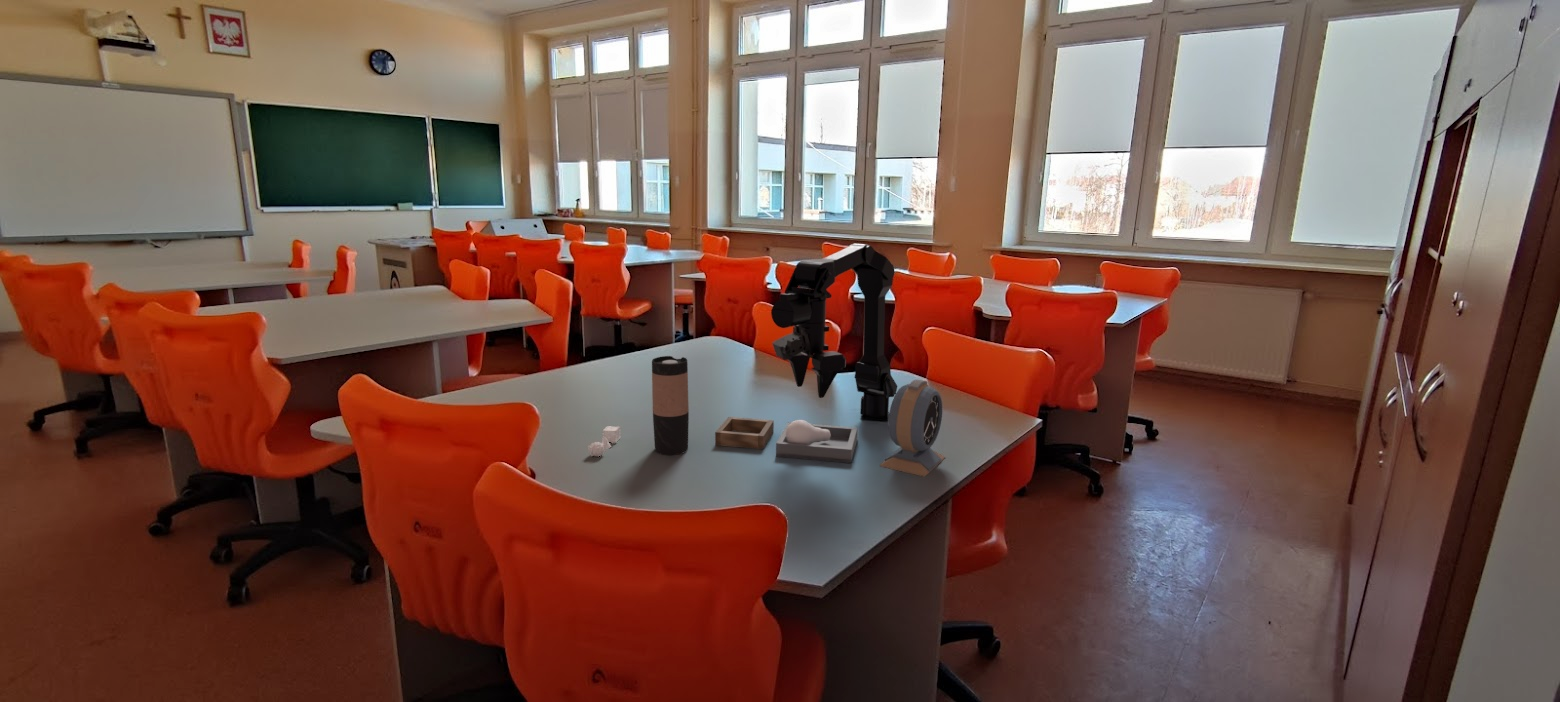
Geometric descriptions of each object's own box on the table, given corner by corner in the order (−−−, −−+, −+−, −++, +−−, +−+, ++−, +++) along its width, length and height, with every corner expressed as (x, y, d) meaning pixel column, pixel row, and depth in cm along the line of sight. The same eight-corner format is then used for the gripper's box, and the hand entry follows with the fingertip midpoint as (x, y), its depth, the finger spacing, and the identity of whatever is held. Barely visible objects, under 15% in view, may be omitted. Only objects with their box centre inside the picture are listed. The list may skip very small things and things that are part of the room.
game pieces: (607, 439, 159) (606, 425, 158) (621, 440, 158) (620, 426, 158) (586, 459, 147) (586, 444, 146) (602, 460, 147) (601, 445, 146)
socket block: (773, 432, 164) (773, 420, 163) (763, 449, 153) (763, 436, 153) (728, 428, 166) (728, 416, 165) (715, 445, 155) (715, 432, 155)
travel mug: (660, 457, 148) (657, 365, 143) (649, 446, 154) (646, 357, 150) (694, 452, 151) (693, 362, 146) (682, 440, 158) (680, 354, 153)
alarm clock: (922, 478, 139) (928, 393, 135) (877, 467, 144) (881, 385, 140) (946, 456, 151) (952, 377, 147) (904, 446, 156) (908, 370, 152)
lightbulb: (834, 417, 155) (792, 414, 149) (840, 443, 152) (797, 441, 146) (820, 427, 159) (778, 425, 154) (825, 453, 156) (783, 452, 151)
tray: (857, 440, 160) (857, 427, 159) (851, 463, 146) (851, 449, 146) (788, 434, 163) (788, 422, 162) (775, 456, 149) (776, 443, 149)
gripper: (758, 316, 152) (757, 385, 156) (800, 332, 136) (799, 409, 140) (802, 312, 157) (800, 379, 161) (848, 327, 141) (845, 401, 145)
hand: (810, 391), depth 152 cm, fingers open, 9 cm apart
